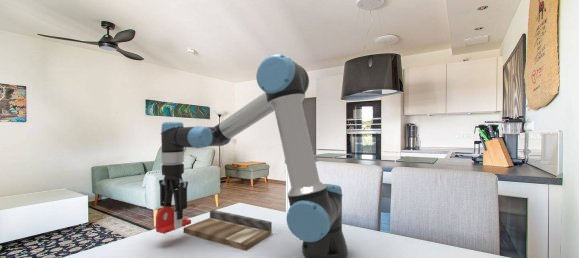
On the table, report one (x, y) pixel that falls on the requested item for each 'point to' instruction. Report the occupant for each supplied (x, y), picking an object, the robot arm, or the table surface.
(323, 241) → the robot arm
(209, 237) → the board
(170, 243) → the table surface
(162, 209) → the bracket
